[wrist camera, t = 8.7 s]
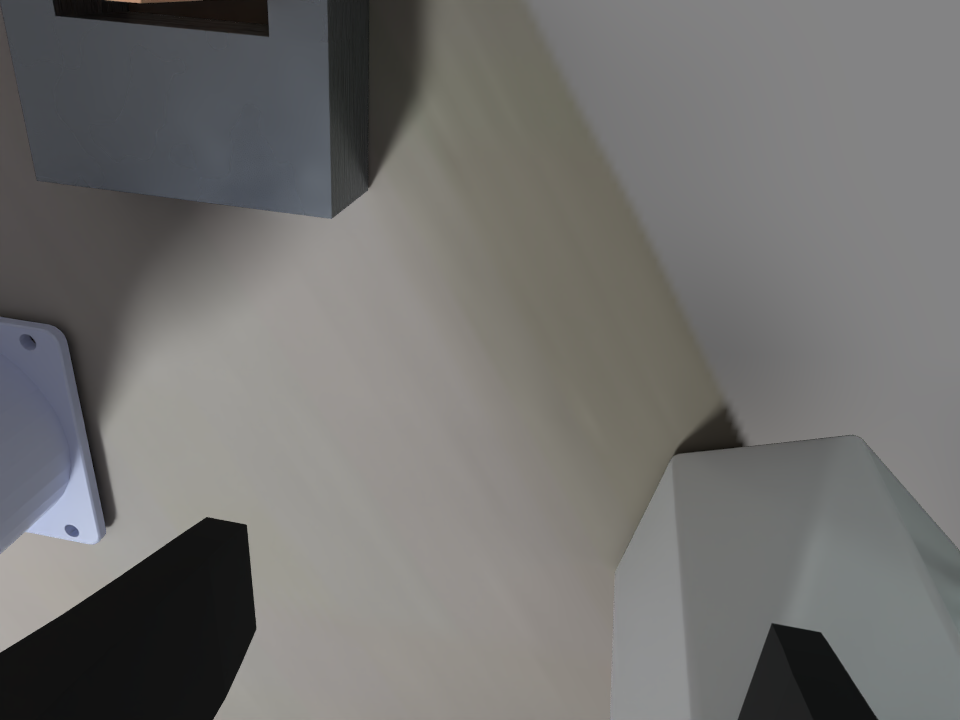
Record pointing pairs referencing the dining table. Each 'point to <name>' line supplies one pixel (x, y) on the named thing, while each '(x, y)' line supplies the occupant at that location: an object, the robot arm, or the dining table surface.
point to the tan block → (152, 1)
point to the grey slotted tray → (198, 101)
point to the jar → (784, 582)
